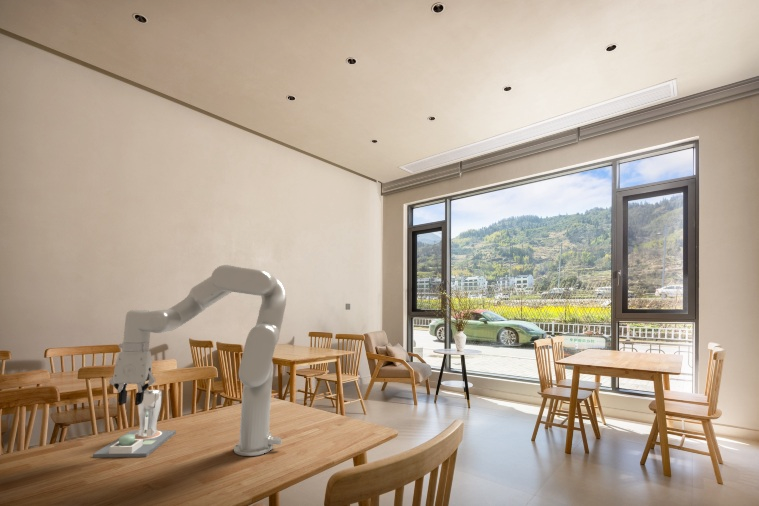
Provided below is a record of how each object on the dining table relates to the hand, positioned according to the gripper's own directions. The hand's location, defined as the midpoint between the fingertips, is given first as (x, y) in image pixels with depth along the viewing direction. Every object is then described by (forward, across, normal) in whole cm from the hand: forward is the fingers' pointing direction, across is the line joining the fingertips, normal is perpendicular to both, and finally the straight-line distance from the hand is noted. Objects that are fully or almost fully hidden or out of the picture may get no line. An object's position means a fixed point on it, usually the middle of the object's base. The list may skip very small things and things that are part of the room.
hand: (130, 403), depth 128 cm
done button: (+12, 0, 0) cm, 12 cm away
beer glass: (+14, 0, +13) cm, 20 cm away
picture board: (+15, 0, +8) cm, 17 cm away
